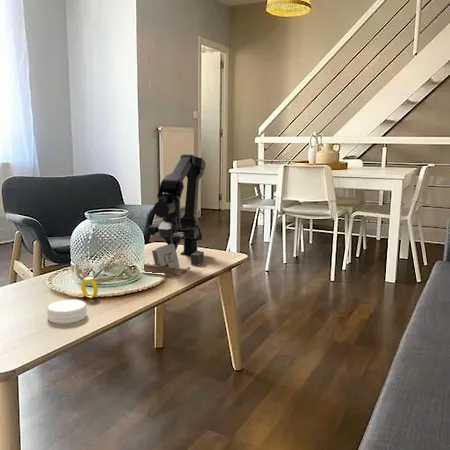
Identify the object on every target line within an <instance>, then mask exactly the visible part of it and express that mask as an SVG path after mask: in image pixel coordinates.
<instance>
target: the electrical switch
mask: <svg viewBox="0 0 450 450" xmlns="http://www.w3.org/2000/svg"><path fill="white" fill-rule="evenodd" d="M151 252H152V257H153V261H154V264H155V265H161V266H171V267H176V270H177V269H179V268H180V263H179V258H178V253H177V249H175V245H174V244H165V245H162V246H158V247H156V249H154V250H151ZM156 258H157V259H156ZM157 260H158V261H157Z"/></svg>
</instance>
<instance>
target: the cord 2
mask: <svg viewBox="0 0 450 450" xmlns="http://www.w3.org/2000/svg"><path fill="white" fill-rule="evenodd" d="M204 257H205V256H204V251H201V250H197V251H196V252H194V253H193V254H191V255H190V265H191V266H200V265H201V264H202V263H204V262H205V260H204ZM203 261H204V262H203ZM199 264H200V265H199Z"/></svg>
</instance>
